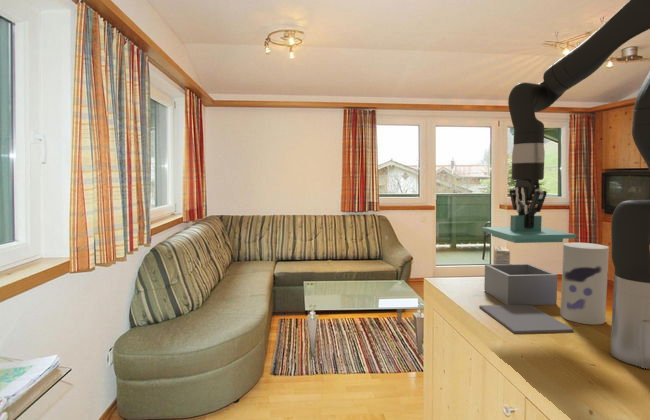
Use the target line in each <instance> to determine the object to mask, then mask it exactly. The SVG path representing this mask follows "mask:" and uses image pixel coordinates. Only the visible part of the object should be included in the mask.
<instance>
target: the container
mask: <svg viewBox="0 0 650 420" xmlns="http://www.w3.org/2000/svg"><path fill="white" fill-rule="evenodd" d="M562 245H563V246H562V247H563V248H562V250H563V251H562V268H561V269H562V271H561V294H560V296H561V299H560V316H561V317H562V318H563V319H565V320H567V321H570V322H574V323H578V324H584V325H591V326H592V325H603V324H605V322H606V313H607V292H608V291H607V290H608V288H607V287H608V271H609V253H610V251H609V250H610V247H609V246H608V245H603V244H598V243H592V242H590V243H589V242H565V243H563V244H562Z"/></svg>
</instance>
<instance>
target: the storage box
mask: <svg viewBox="0 0 650 420" xmlns="http://www.w3.org/2000/svg"><path fill="white" fill-rule="evenodd" d="M558 278H559V277H558V274H557V273H554V272H552V271H548V270H546V269H543V268H540V267H538V266H536V265H532V264H530V263H510V264H495V265H493V264H484V287H483V288H484V289H483V290H485V291H486V292H485V291H484V292H485V293H487V292H488V293H489V294H488V293H487V294H488V295H490V296H491V295H492V296H491V297H493V298H495V299H496V300H497V301H499V302H501V303H502V304H503V305H521V304H530V305H531V306H538V305H539V306H541V305H542V306H544V305H545V306H547V305H557V299H558V297H557V295H558Z"/></svg>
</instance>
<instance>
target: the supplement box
mask: <svg viewBox="0 0 650 420" xmlns="http://www.w3.org/2000/svg"><path fill="white" fill-rule="evenodd" d="M510 260H511V251H510V249H509V247H508V246H501V245H500V246H499V245H498V246H495V245H494V246H493V264H492V265H495V264H511V263H510V262H511V261H510Z"/></svg>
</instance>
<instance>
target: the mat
mask: <svg viewBox="0 0 650 420" xmlns="http://www.w3.org/2000/svg"><path fill="white" fill-rule="evenodd" d="M478 306H479V309H481V310H482V311H483V312H485V313H486V314H488V316H489V317H492V318H493V320H494V319H495V321H497V322H499V324H501V325H503V326H504V327H505V328H506V329H508V330H509V331H511V332H512V333H513V334H534V333H535V334H536V333H540V334H541V333H569V332H570V333H573V332H575V331H574V328H572V327H571V326H569V325H566V324H565V323H563V322H561V321H560V320H558V319H556V318H555V317H553V316H550V315H549V314H547V313H545V312H544V311H542V310H540V309H538V308H537V307H535V306H534V305H530V304H521V305H506V304H491V305H490V304H488V305H487V304H485V305H478Z"/></svg>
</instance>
